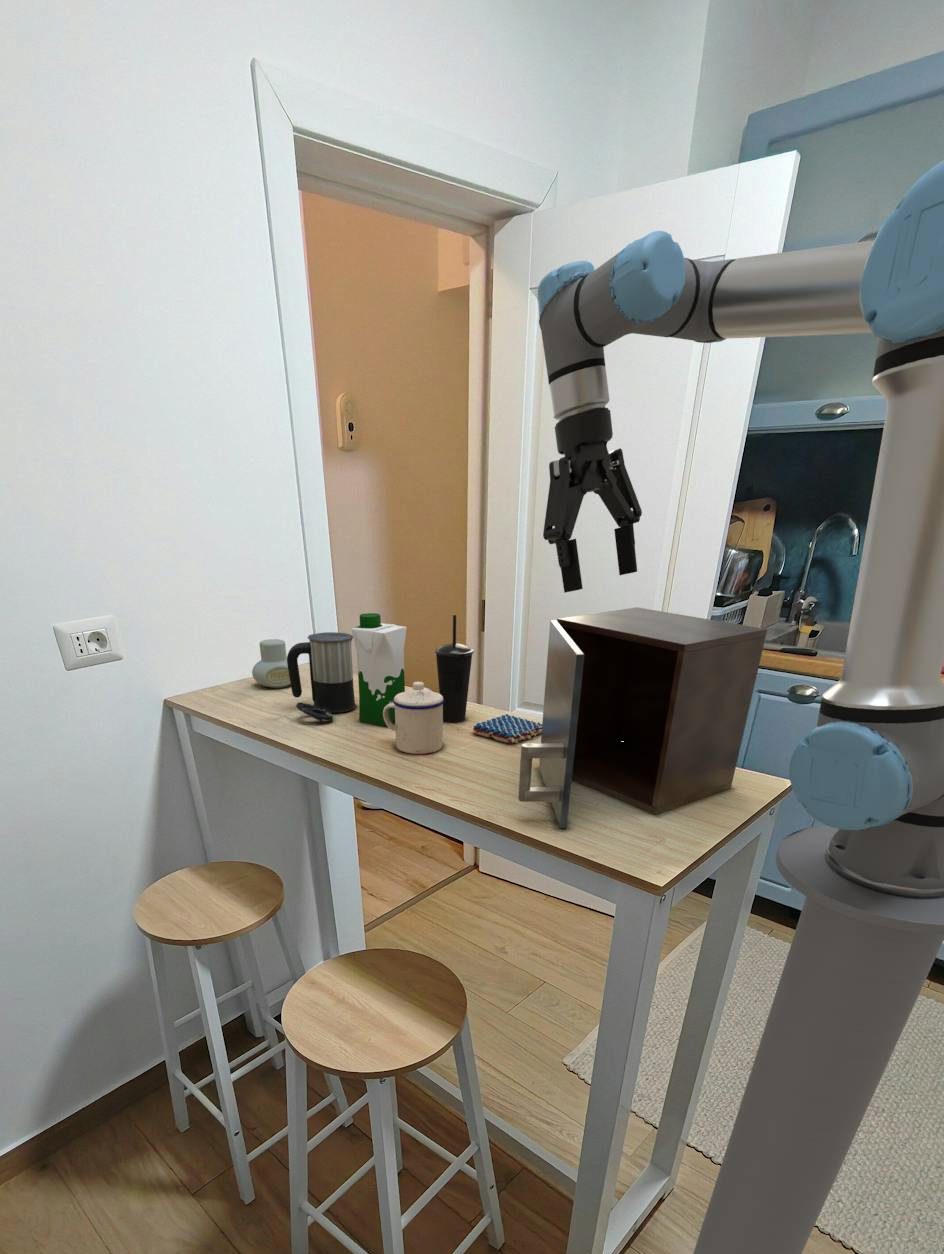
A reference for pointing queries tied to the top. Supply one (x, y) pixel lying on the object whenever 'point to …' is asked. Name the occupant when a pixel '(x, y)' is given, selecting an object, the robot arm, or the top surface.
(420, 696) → the teacup with lid
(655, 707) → the cupboard
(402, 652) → the milk carton
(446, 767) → the top surface
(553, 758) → the cupboard door
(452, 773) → the top surface
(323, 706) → the milk frother
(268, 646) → the air freshener
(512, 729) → the woven mat
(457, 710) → the drinking cup
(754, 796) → the top surface
